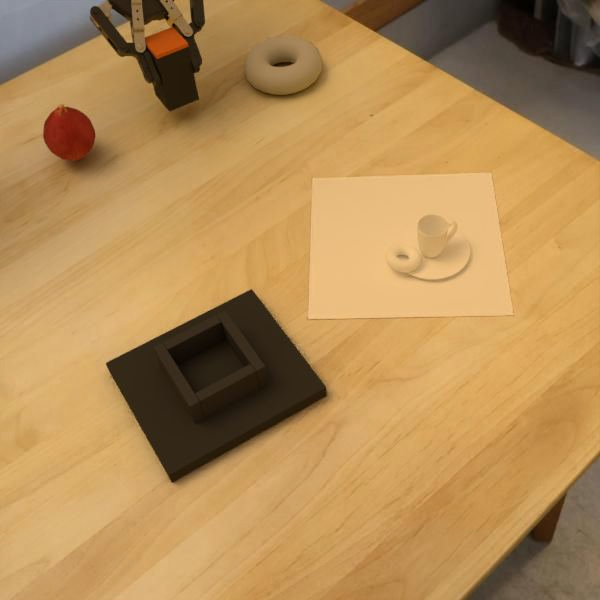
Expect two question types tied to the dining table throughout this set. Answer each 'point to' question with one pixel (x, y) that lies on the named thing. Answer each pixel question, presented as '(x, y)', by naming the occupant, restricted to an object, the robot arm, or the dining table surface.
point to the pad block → (172, 68)
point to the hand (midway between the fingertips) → (177, 77)
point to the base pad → (214, 383)
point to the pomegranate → (68, 133)
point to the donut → (283, 77)
